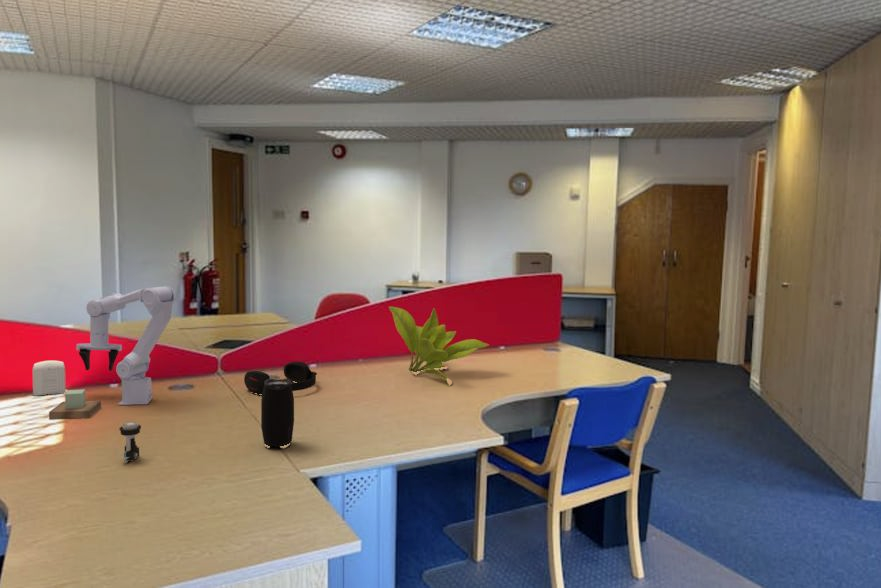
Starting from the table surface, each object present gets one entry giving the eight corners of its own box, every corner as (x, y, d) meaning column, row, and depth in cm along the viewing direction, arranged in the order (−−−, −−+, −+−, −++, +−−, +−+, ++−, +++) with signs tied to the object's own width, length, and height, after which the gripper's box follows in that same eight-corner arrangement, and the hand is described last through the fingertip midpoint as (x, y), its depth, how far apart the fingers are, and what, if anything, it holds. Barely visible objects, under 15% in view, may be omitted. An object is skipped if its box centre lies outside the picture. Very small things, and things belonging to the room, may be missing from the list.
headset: (265, 378, 272) (265, 357, 271) (326, 381, 269) (326, 361, 268) (235, 396, 244) (235, 373, 243) (302, 400, 241) (303, 377, 240)
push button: (134, 464, 175) (133, 428, 174) (114, 464, 175) (113, 428, 173) (145, 455, 181) (144, 421, 180) (125, 455, 181) (124, 420, 180)
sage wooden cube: (85, 403, 220) (85, 389, 219) (82, 408, 215) (82, 393, 214) (68, 404, 218) (68, 390, 218) (65, 408, 213) (65, 394, 213)
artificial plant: (422, 407, 258) (467, 349, 253) (353, 337, 275) (394, 281, 269) (462, 401, 296) (503, 351, 291) (400, 340, 313) (437, 292, 307)
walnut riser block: (101, 409, 224) (100, 400, 224) (89, 419, 212) (89, 411, 212) (63, 410, 222) (62, 401, 221) (49, 421, 210) (48, 412, 210)
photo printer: (65, 390, 243) (64, 358, 242) (66, 393, 240) (65, 360, 238) (33, 394, 238) (31, 360, 236) (33, 396, 234) (31, 363, 233)
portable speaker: (256, 444, 193) (256, 380, 191) (285, 438, 199) (286, 375, 197) (269, 452, 186) (269, 386, 184) (298, 446, 192) (299, 381, 190)
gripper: (124, 331, 238) (124, 367, 239) (81, 330, 235) (81, 366, 236) (118, 334, 231) (118, 372, 233) (74, 333, 228) (74, 371, 230)
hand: (99, 369), depth 234 cm, fingers open, 7 cm apart
